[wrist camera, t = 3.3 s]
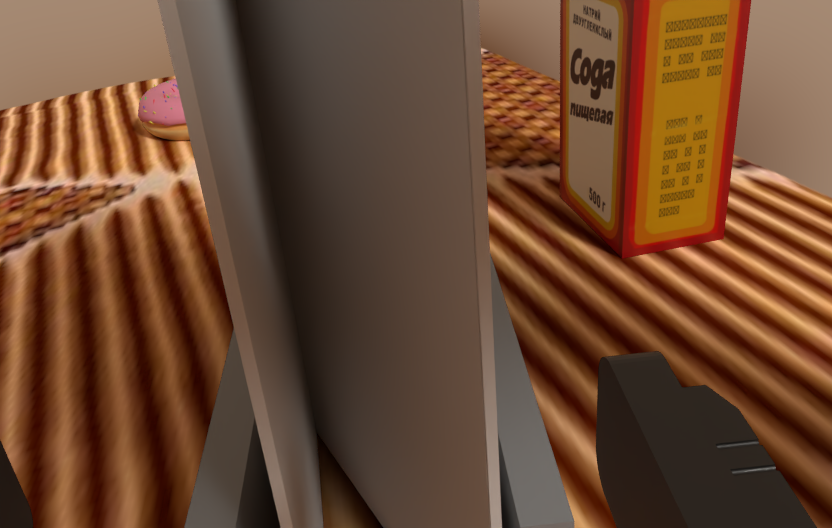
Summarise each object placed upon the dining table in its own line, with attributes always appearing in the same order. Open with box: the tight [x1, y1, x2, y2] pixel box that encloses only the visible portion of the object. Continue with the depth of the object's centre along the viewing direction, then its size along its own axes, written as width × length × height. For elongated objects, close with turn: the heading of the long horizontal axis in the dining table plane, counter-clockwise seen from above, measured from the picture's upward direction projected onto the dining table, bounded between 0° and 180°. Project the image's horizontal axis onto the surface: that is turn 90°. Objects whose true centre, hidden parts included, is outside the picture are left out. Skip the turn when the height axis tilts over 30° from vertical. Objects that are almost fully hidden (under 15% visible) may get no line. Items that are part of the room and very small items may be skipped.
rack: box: [184, 254, 574, 528], centre depth 35 cm, size 11×27×6 cm, turn 4°
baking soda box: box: [560, 0, 751, 258], centre depth 47 cm, size 10×6×16 cm
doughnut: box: [138, 79, 190, 140], centre depth 75 cm, size 11×11×4 cm
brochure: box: [158, 0, 502, 528], centre depth 23 cm, size 14×6×30 cm, turn 9°
